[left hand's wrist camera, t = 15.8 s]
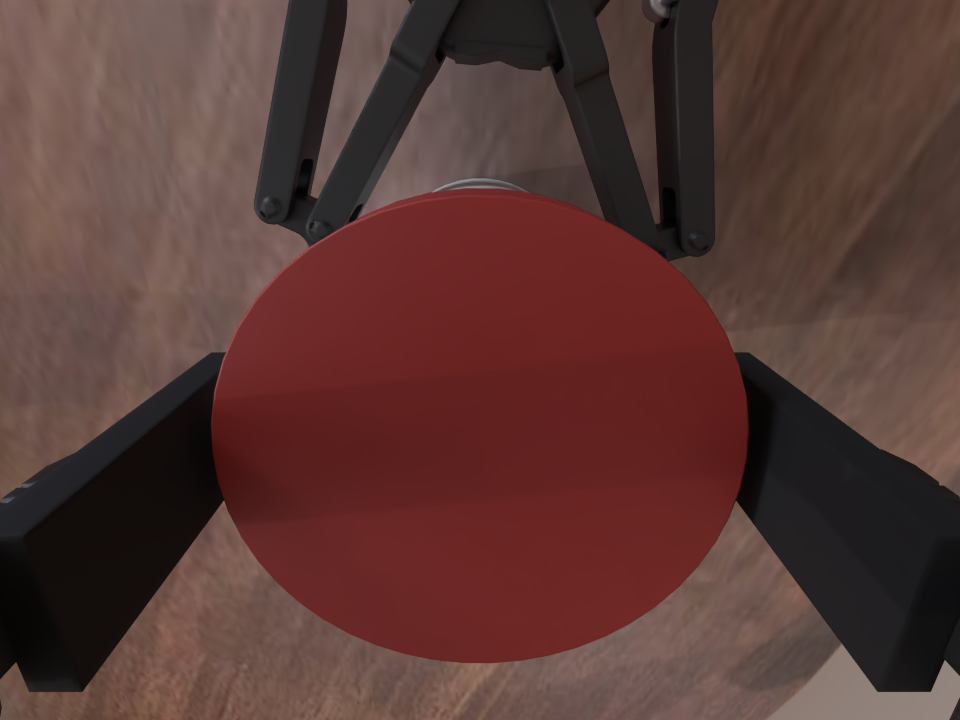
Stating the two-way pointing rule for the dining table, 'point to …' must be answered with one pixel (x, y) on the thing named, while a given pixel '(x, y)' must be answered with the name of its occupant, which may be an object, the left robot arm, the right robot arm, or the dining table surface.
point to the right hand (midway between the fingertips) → (472, 404)
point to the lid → (480, 427)
